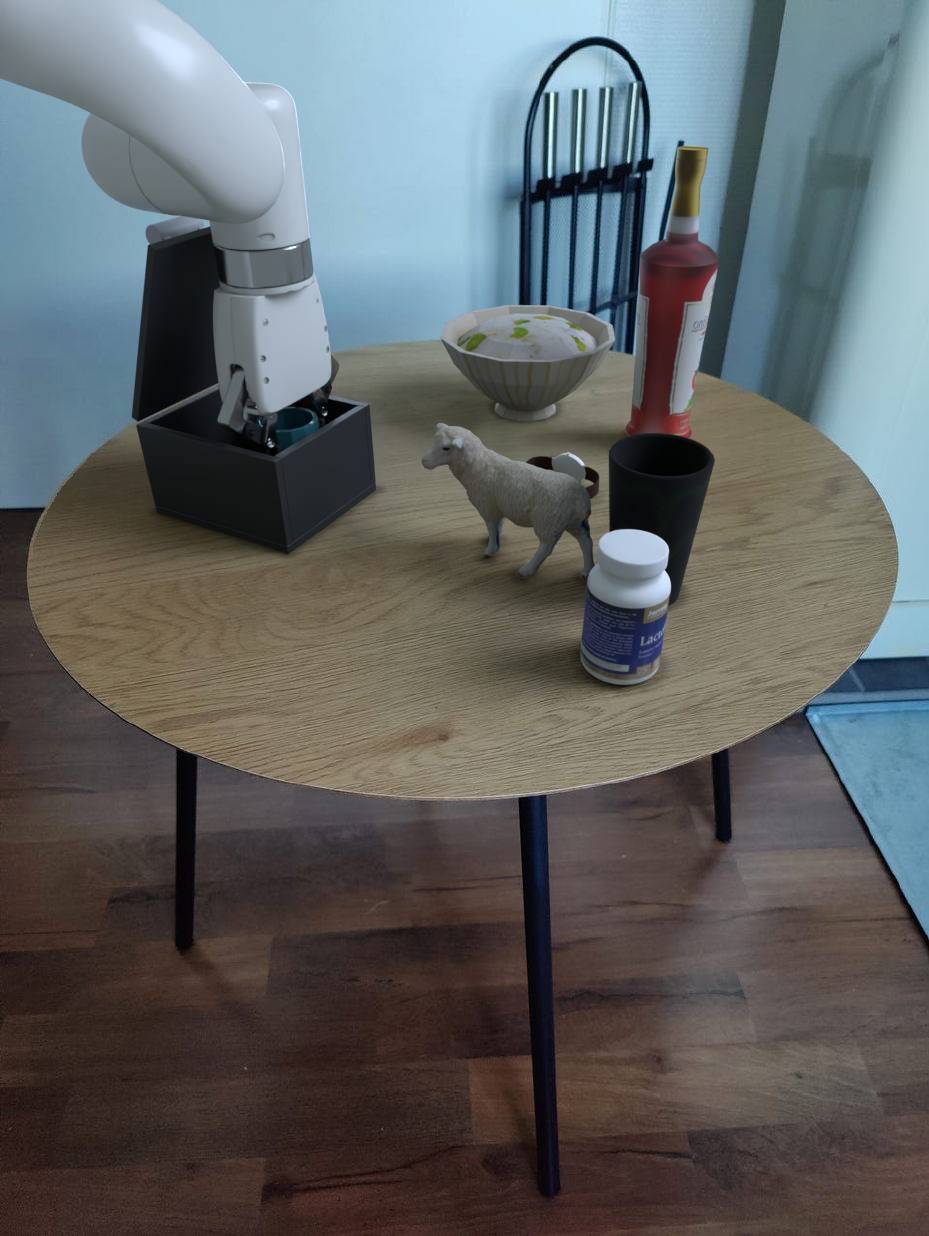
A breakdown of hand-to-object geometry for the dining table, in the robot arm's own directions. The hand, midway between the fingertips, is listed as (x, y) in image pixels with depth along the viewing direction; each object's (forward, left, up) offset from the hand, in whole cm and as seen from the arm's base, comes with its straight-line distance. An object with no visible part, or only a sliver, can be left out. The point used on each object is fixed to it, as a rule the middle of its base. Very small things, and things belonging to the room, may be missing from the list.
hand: (292, 468), depth 83 cm
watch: (+25, -5, -4) cm, 25 cm away
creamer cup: (0, 0, -1) cm, 1 cm away
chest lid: (-5, +6, +12) cm, 15 cm away
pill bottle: (+19, -31, -4) cm, 36 cm away
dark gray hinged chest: (-2, +2, -4) cm, 6 cm away
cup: (+25, -23, -4) cm, 34 cm away
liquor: (+39, +2, -4) cm, 39 cm away
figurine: (+16, -15, -4) cm, 22 cm away
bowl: (+29, +15, -4) cm, 33 cm away
